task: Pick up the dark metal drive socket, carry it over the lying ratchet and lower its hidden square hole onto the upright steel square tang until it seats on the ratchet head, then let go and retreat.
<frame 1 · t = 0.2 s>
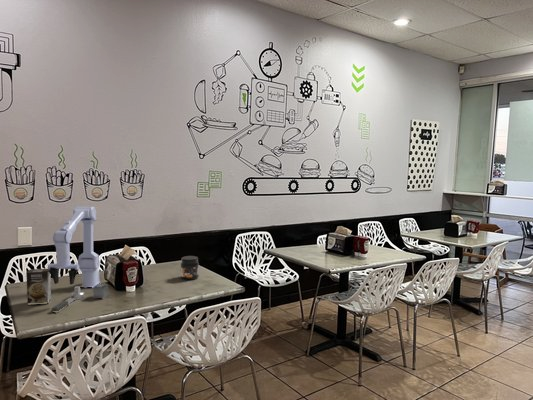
hand: (64, 283, 195), 10 cm above the table, tool pointing down, fingers open, 7 cm apart
cookie box: (39, 303, 197), on the table
supplement container: (189, 278, 241), on the table
socket: (100, 297, 206), on the table
ratchet: (77, 297, 205), on the table
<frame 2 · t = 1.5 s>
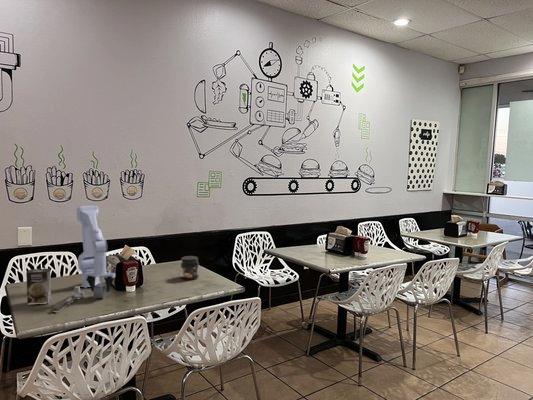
hand: (100, 291, 206), 3 cm above the table, tool pointing down, fingers open, 7 cm apart
nothing on the table moved.
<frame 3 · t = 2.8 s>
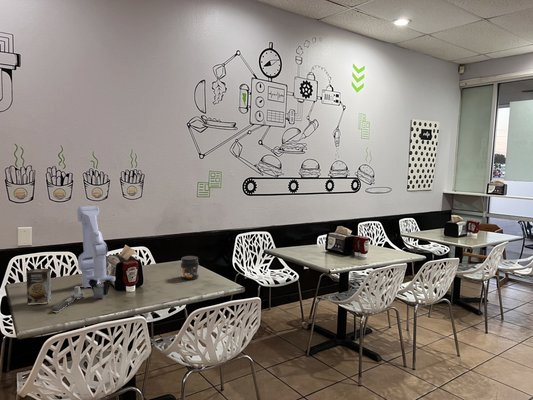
hand: (100, 294, 206), 1 cm above the table, tool pointing down, fingers closed on socket, 5 cm apart
socket: (100, 297, 206), on the table, touching gripper
everything else where it was.
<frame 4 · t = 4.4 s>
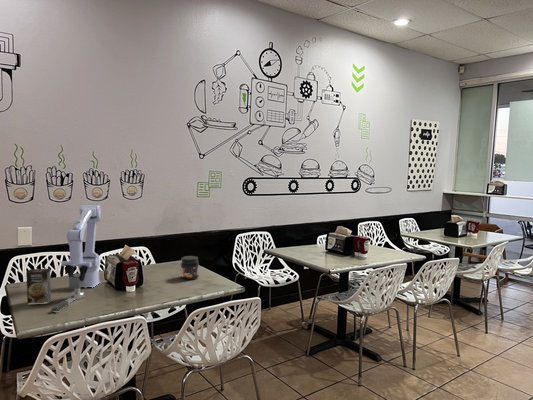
hand: (77, 280, 204), 9 cm above the table, tool pointing down, fingers closed on socket, 5 cm apart
socket: (77, 286, 204), point 6 cm above the table, touching gripper
everything else where it was.
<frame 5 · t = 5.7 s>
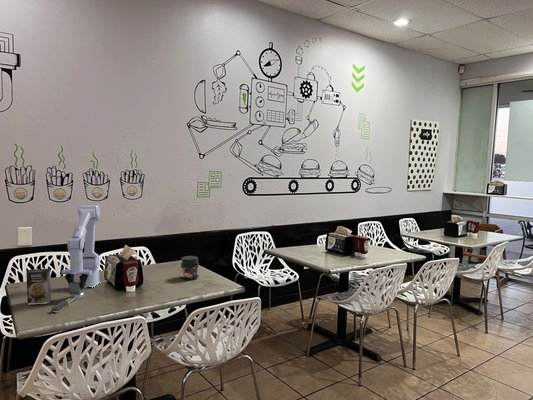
hand: (77, 288, 204), 5 cm above the table, tool pointing down, fingers closed on socket, 5 cm apart
socket: (77, 292, 204), point 2 cm above the table, touching gripper, ratchet
everything else where it was.
when the fingers open (5 cm above the table, at t = 6.2 s): socket stays where it is, resting on ratchet.
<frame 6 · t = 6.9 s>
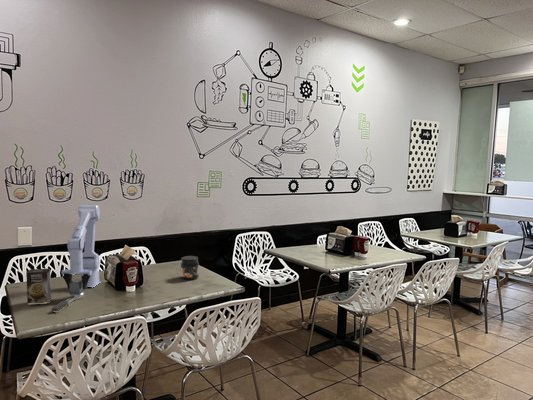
hand: (77, 288, 204), 5 cm above the table, tool pointing down, fingers open, 7 cm apart
socket: (77, 292, 204), point 2 cm above the table, touching ratchet
everything else where it was.
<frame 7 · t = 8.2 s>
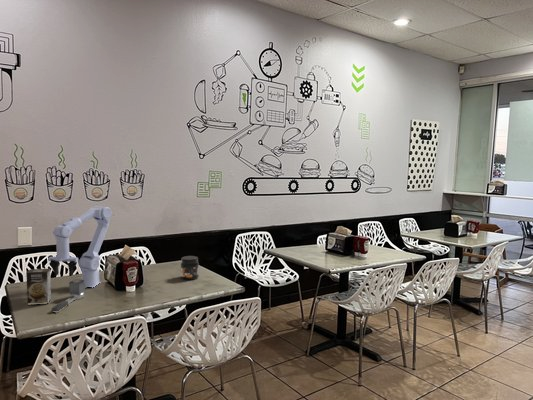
hand: (63, 275, 208), 10 cm above the table, tool pointing down, fingers open, 7 cm apart
nothing on the table moved.
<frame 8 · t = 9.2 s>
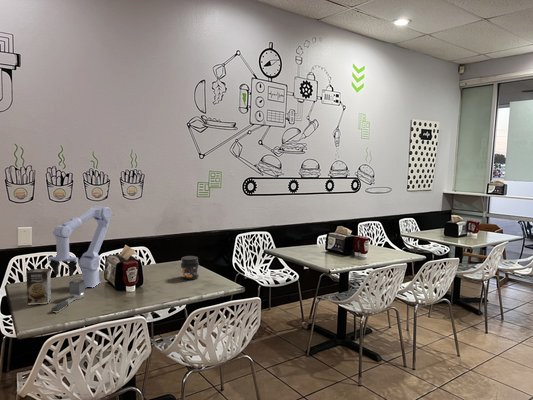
hand: (63, 275, 208), 10 cm above the table, tool pointing down, fingers open, 7 cm apart
nothing on the table moved.
at the end: socket 0.2 cm off-centre on the ratchet, point 2.5 cm above the ratchet's base; socket tilted 0°; the gripper is holding nothing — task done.
